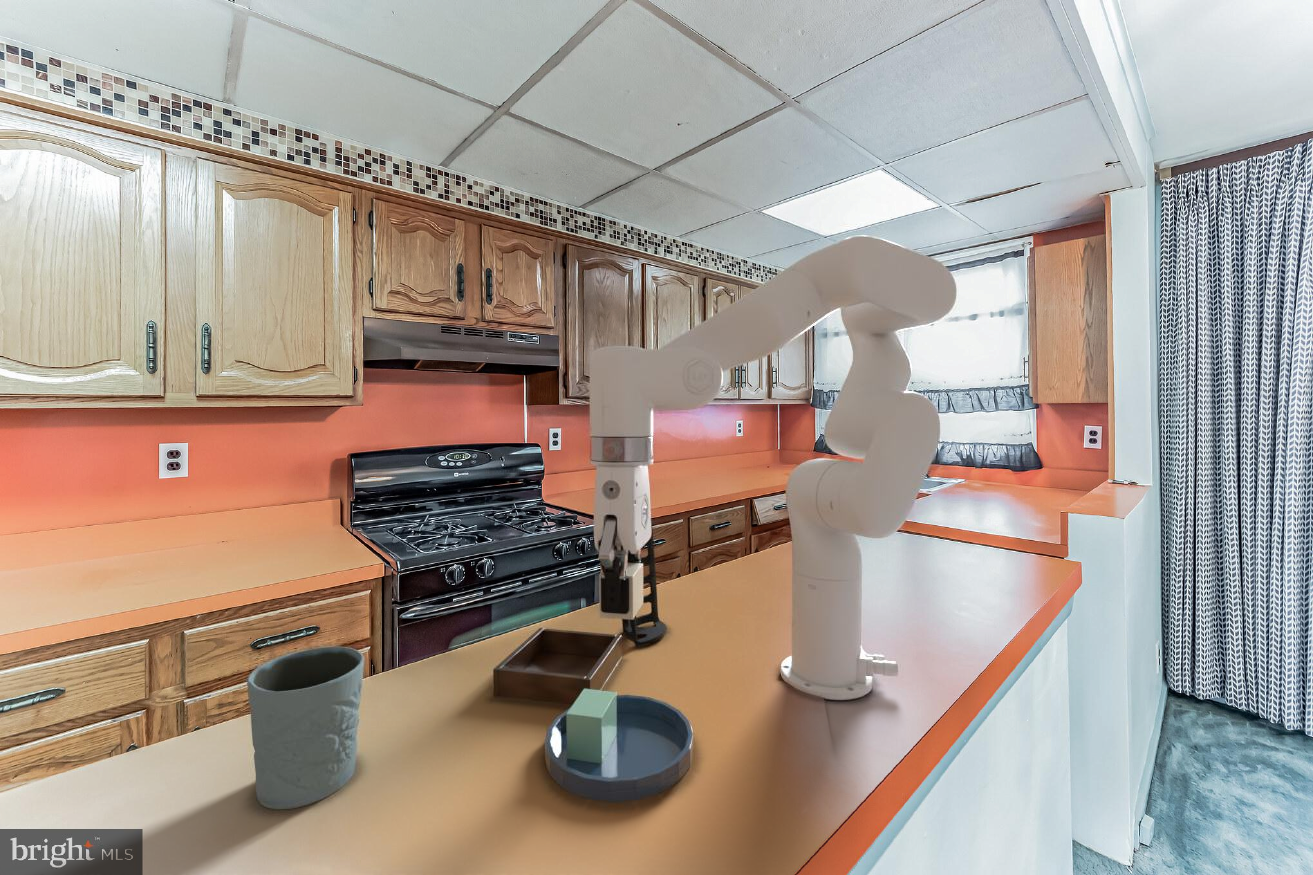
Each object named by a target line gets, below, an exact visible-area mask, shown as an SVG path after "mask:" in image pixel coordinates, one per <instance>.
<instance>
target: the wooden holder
mask: <svg viewBox="0 0 1313 875" xmlns="http://www.w3.org/2000/svg"><path fill="white" fill-rule="evenodd" d="M622 639H623V636H622V634H613V633H600V632H590V631H577V630H566V629H556V628H545V627H539V628H538V629H536V630H535V632H534V633H532V634H531V635H530V636H529V637H528V638H527V639H525V640H524V642H522V643H521V644H520V645H519V646H518V647H517V648H515V649H514V650H513V651H512V652H511V653H510V654H509V655H508V656H506V657H505V658H504V659H503V660H502V661H501V662H500V663H499V664H498V665H496V666H495V667H494V668H492V674H493V675H492V677H493V678H492V683H493V684H492V687H493V688H492V690H493V691H492V692H493V697H496V698H497V697H498V698H503V699H515V700H521V701H530V702H537V703H538V702H539V703H548V704H555V705H565V706H572V705H573V704H574V702H575V701H576V700H577V698H578V697H579V695H580V694H581V692H582V691H583V690H584V689H592V690H601V691H603V688H604V687H605V686H606V684H607V682H608V681H609V679H610V678H611V676H612V674H613V673H614V671H615V670H616V668H617V667H618V666H620V665H621V663H622V661H623V646H622V643H623V642H622Z"/></svg>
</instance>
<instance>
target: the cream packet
mask: <svg viewBox="0 0 1313 875" xmlns="http://www.w3.org/2000/svg"><path fill="white" fill-rule="evenodd" d="M619 564H620V562H619ZM643 577H644V565H643V564H642V563H627V574H626V578H629V612H628V613H627V614H617V613H604V612H602V611H601V577H600V573H599V575H598V592H599V593H598V594H599V595H598V597H599V598H598V602H599V603H598V605H599V607H598V608H599V611H598V613H599V615H598V616H599V617H598V618H603V619H617V620H622V619H631V620H633V619H634V617H635V616H636V617H637V614H638V613H639V611H640V609H641V608H642V606H643V604H644V603H643V596H644V584H643Z"/></svg>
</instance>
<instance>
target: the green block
mask: <svg viewBox="0 0 1313 875" xmlns="http://www.w3.org/2000/svg"><path fill="white" fill-rule="evenodd" d="M617 695H618V693H617V691H609V690H592V689H584V690H583V691H582V692H581V694H580V695H579V697H578V698H577V700H576V701H575V702H574V704H573V705H571V706H570V707H569V708H570V709H569V708H568V709H569V711H568V712H567V714H566V720H567V759H572V760H579V761H586V762H593V763H600V764H602V762H603V760H604V758H605V756H606V754H607V752H608V750H609V748H610V746H611V744H612V742H613V740H614V738H615V736H616V734H617Z"/></svg>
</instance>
